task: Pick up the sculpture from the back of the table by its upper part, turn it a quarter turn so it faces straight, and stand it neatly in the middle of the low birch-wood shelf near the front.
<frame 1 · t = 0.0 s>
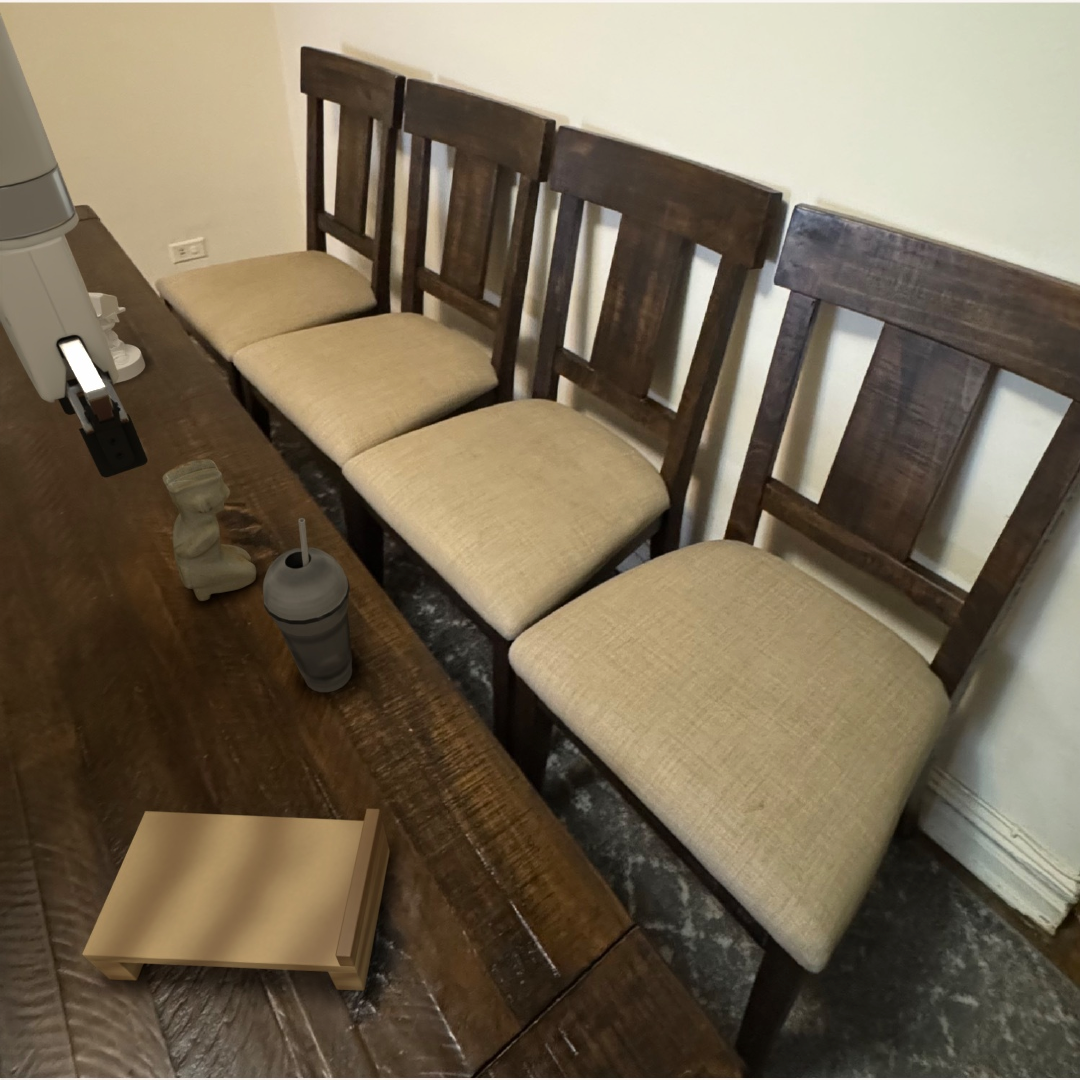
hand: (105, 437, 56), 25 cm above the table, tool pointing down, fingers open, 9 cm apart
sculpture: (223, 585, 80), on the table
character figurine: (115, 368, 111), on the table
beverage cup: (328, 674, 72), on the table
shelf: (258, 910, 56), on the table
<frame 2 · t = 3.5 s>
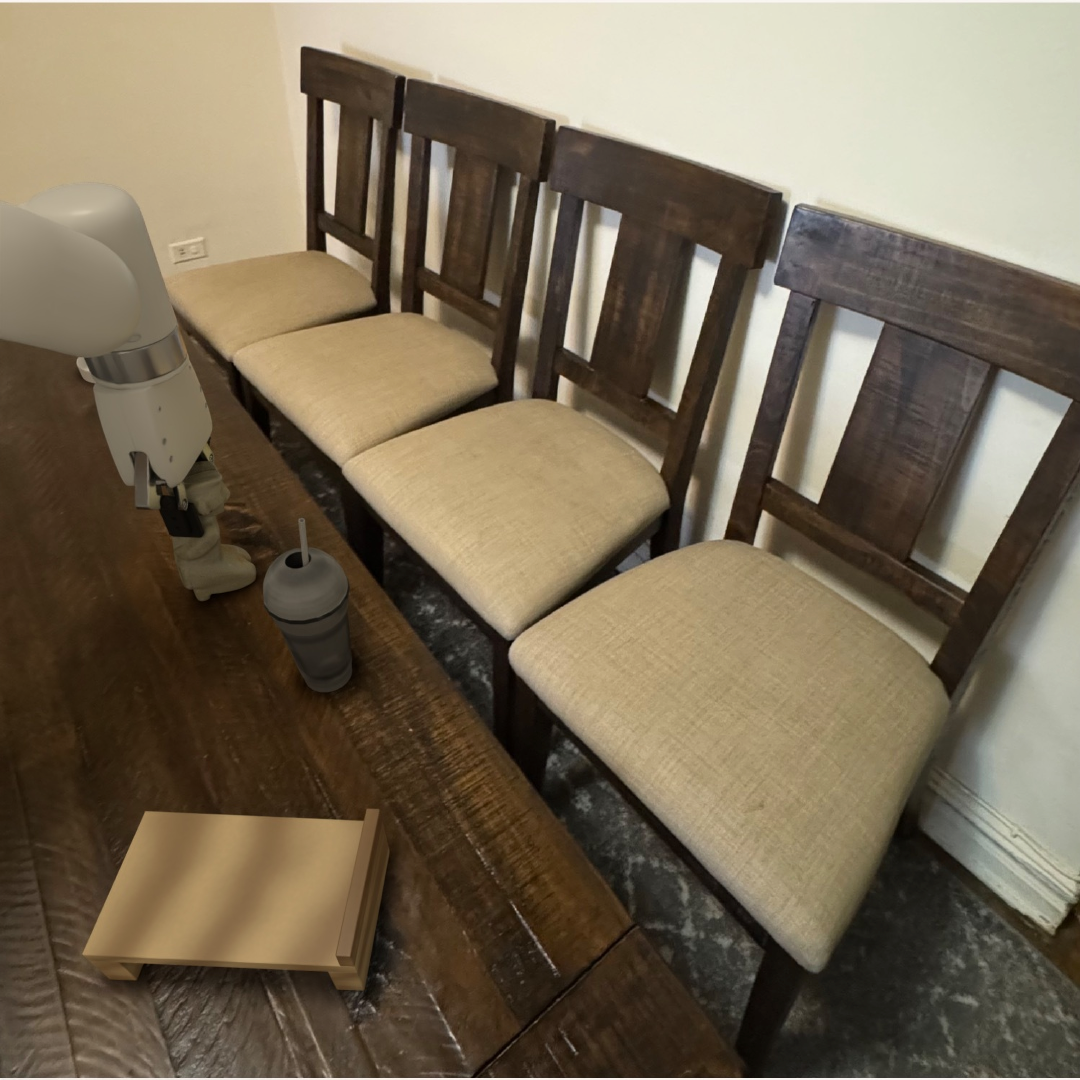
hand: (197, 514, 73), 10 cm above the table, tool pointing down, fingers closed on sculpture, 4 cm apart
sculpture: (223, 585, 80), on the table, touching gripper
everything else where it was.
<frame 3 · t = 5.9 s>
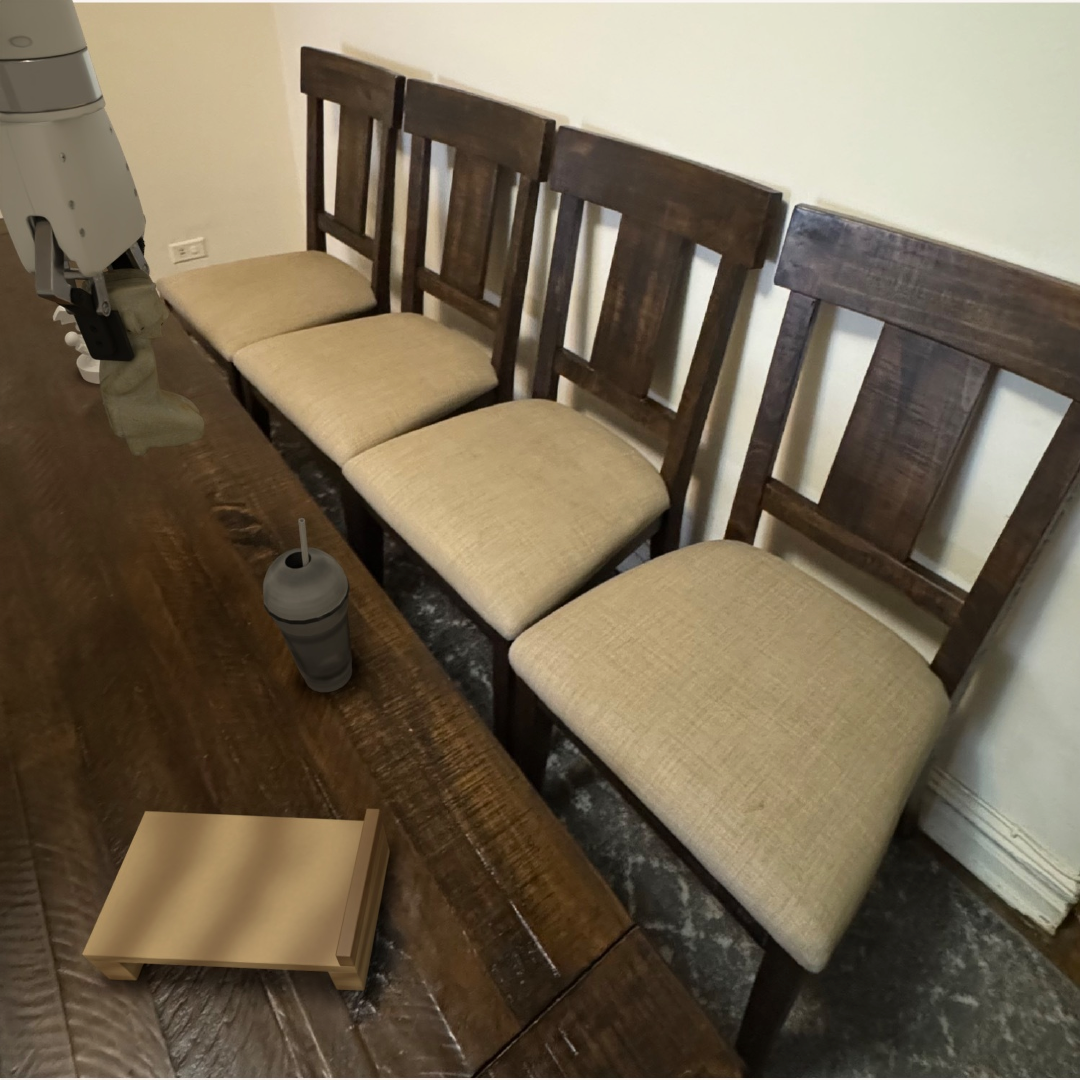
hand: (128, 339, 60), 29 cm above the table, tool pointing down, fingers closed on sculpture, 4 cm apart
sculpture: (165, 442, 67), point 19 cm above the table, touching gripper
everything else where it was.
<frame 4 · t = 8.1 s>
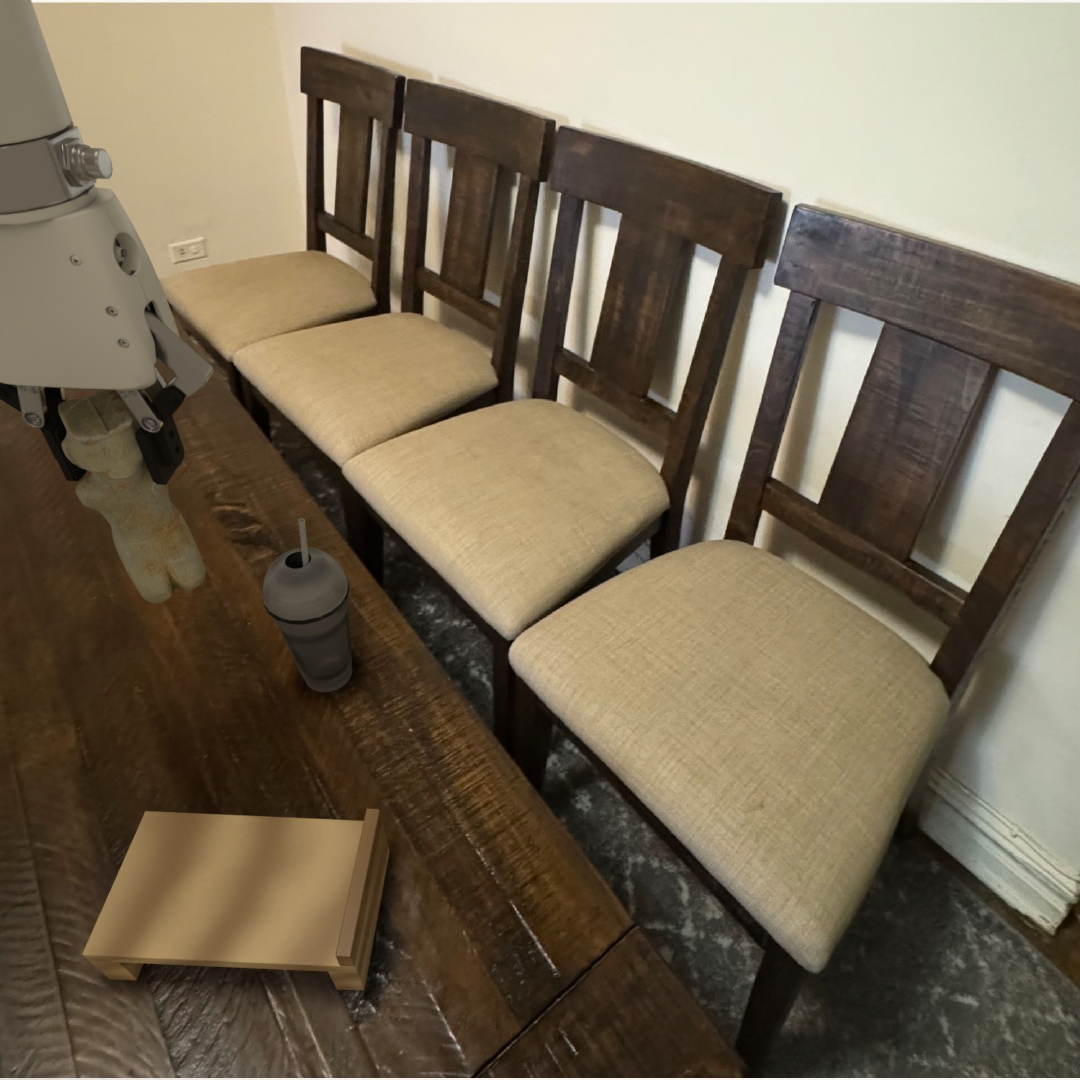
hand: (126, 467, 48), 29 cm above the table, tool pointing down, fingers closed on sculpture, 4 cm apart
sculpture: (170, 575, 55), point 19 cm above the table, touching gripper
everything else where it was.
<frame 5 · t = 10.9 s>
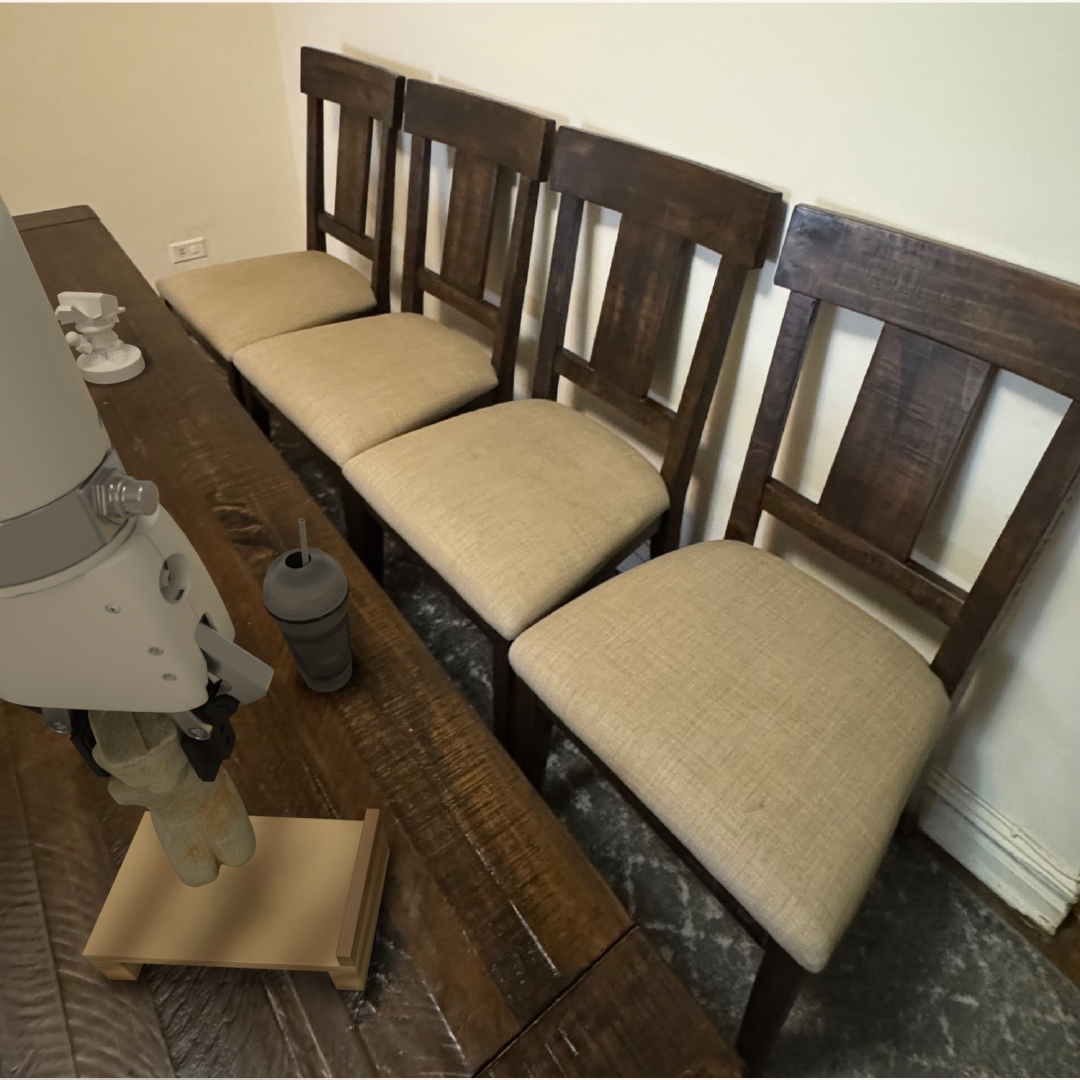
hand: (167, 753, 41), 22 cm above the table, tool pointing down, fingers closed on sculpture, 4 cm apart
sculpture: (214, 835, 47), point 12 cm above the table, touching gripper
everything else where it was.
when the fingers open (15 cm above the table, at t = 13.0 s): sculpture stays where it is, resting on shelf.
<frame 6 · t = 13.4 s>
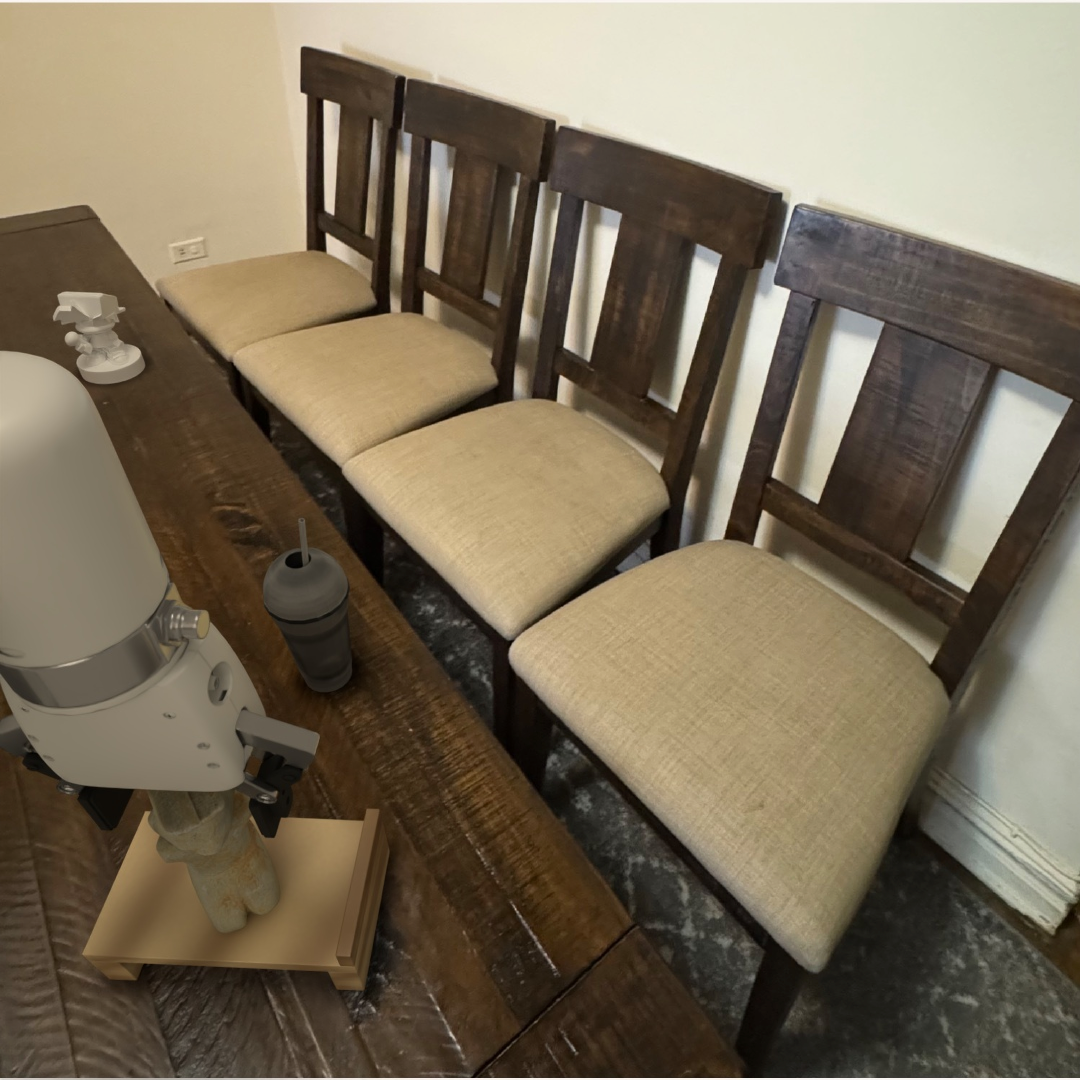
hand: (198, 810, 45), 16 cm above the table, tool pointing down, fingers open, 9 cm apart
sculpture: (241, 884, 52), point 5 cm above the table, touching shelf
everything else where it was.
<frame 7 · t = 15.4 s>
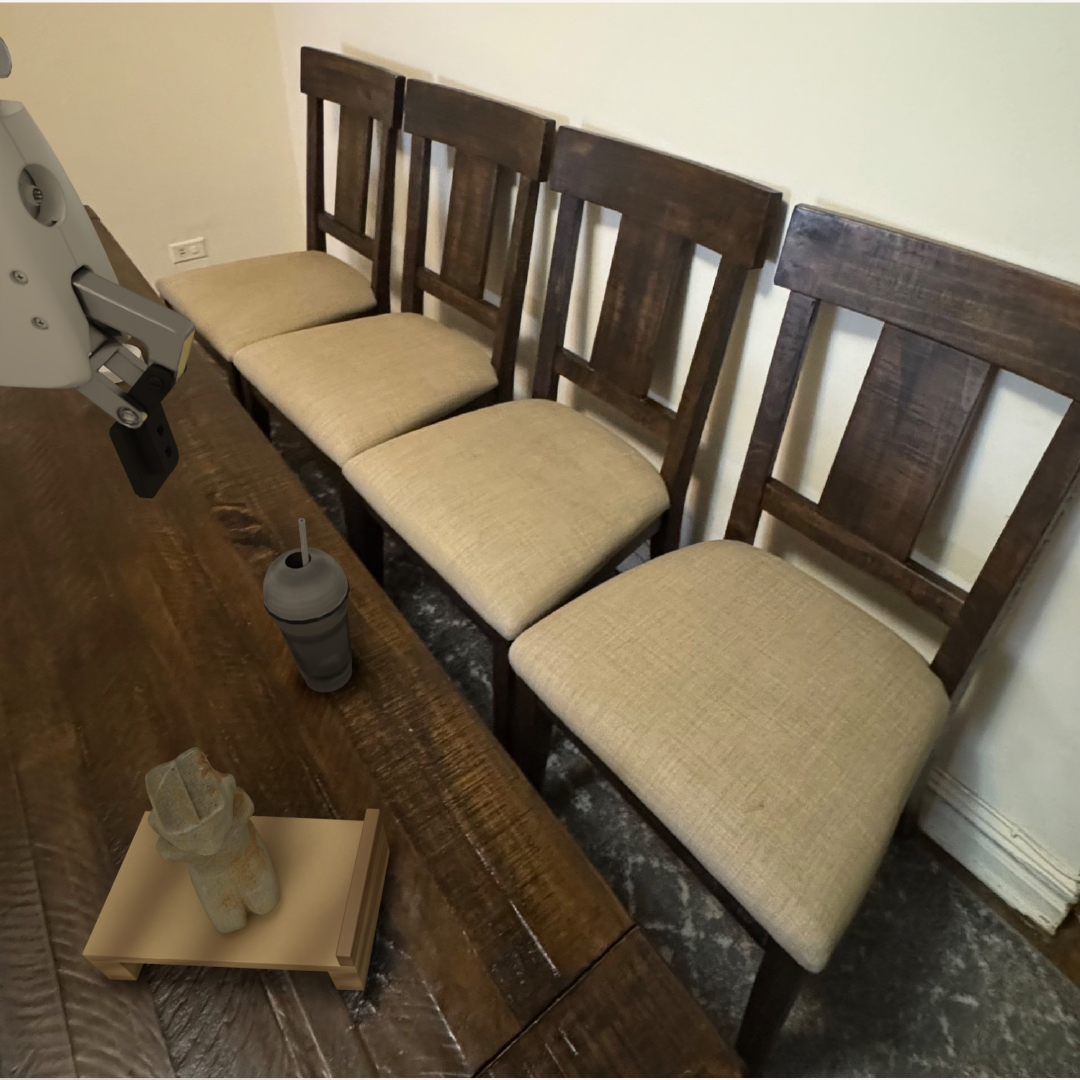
hand: (61, 474, 36), 36 cm above the table, tool pointing down, fingers open, 9 cm apart
nothing on the table moved.
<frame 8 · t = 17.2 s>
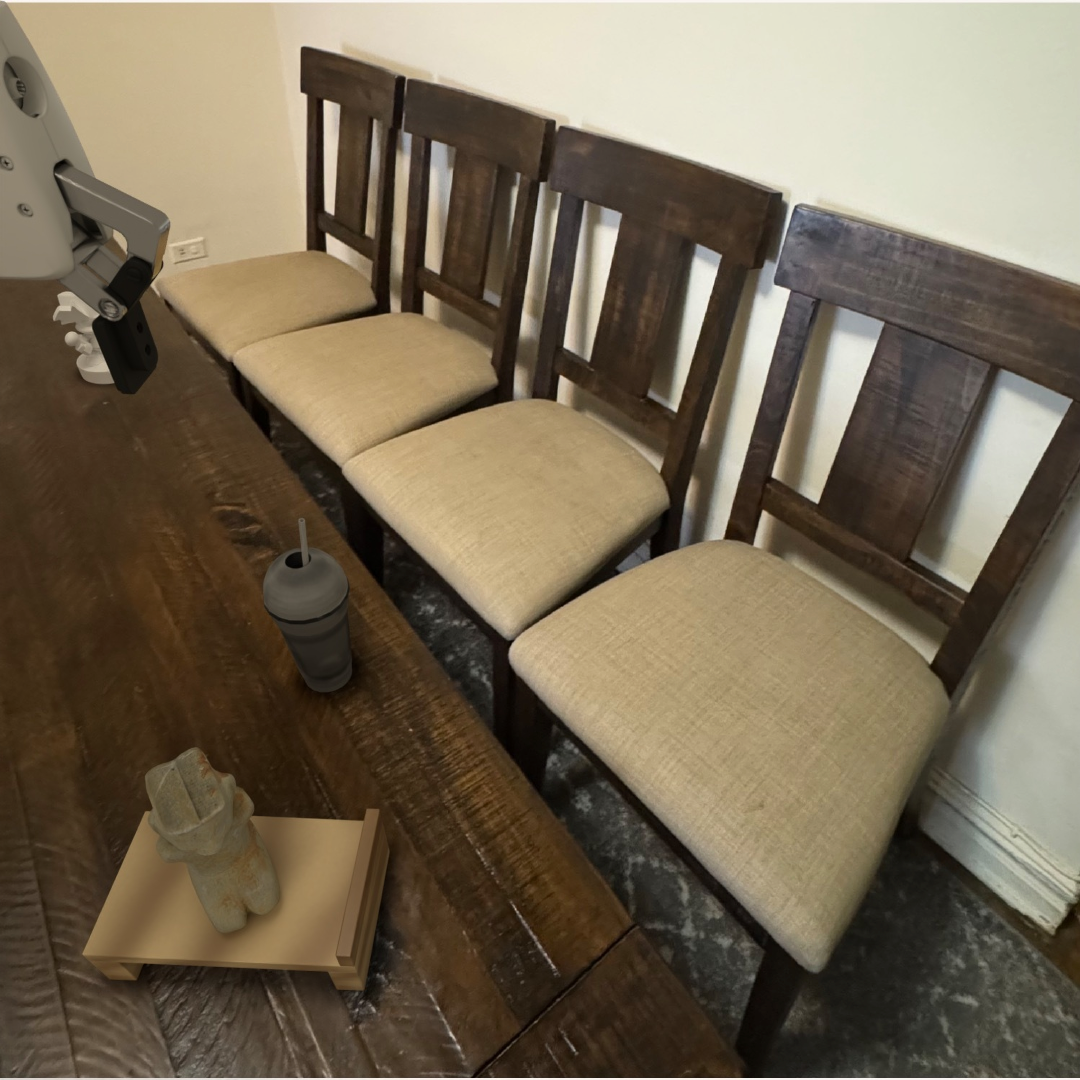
hand: (46, 376, 38), 38 cm above the table, tool pointing down, fingers open, 9 cm apart
nothing on the table moved.
at the end: sculpture inside the target area on the shelf (0.2 cm from its centre), point 4.8 cm above the shelf's base; sculpture tilted 0°; the gripper is holding nothing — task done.
